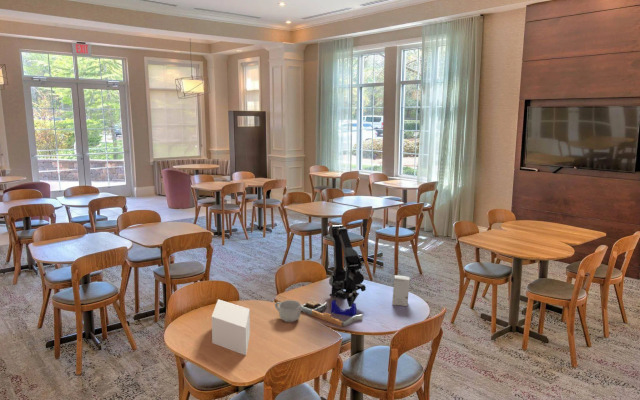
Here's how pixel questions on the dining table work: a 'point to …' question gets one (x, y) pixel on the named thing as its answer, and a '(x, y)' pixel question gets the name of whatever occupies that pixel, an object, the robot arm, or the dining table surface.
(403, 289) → the skincare box
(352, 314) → the cable clip
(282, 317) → the teacup
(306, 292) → the dining table surface
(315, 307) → the rack
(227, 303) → the block
